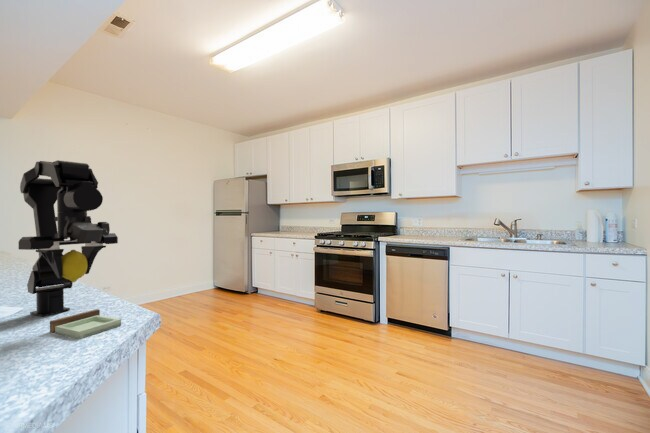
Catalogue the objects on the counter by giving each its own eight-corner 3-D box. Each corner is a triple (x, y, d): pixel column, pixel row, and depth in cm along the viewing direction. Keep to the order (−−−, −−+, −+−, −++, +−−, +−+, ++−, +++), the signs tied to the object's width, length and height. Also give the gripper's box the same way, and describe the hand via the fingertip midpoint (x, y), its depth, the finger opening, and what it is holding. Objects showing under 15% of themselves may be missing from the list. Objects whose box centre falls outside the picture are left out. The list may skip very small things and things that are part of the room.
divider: (49, 332, 71) (49, 321, 71) (96, 318, 81) (96, 309, 81) (52, 332, 71) (52, 321, 71) (99, 319, 80) (99, 309, 80)
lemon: (71, 284, 74) (71, 250, 74) (52, 284, 75) (52, 250, 75) (93, 280, 79) (92, 248, 79) (75, 279, 80) (74, 248, 80)
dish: (55, 333, 71) (55, 326, 71) (97, 321, 79) (97, 315, 79) (79, 338, 67) (79, 331, 67) (121, 325, 75) (121, 319, 75)
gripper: (44, 210, 65) (45, 285, 65) (130, 211, 83) (132, 271, 82) (16, 212, 70) (17, 282, 70) (104, 213, 87) (105, 269, 87)
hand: (73, 275), depth 77 cm, fingers closed on lemon, 5 cm apart
